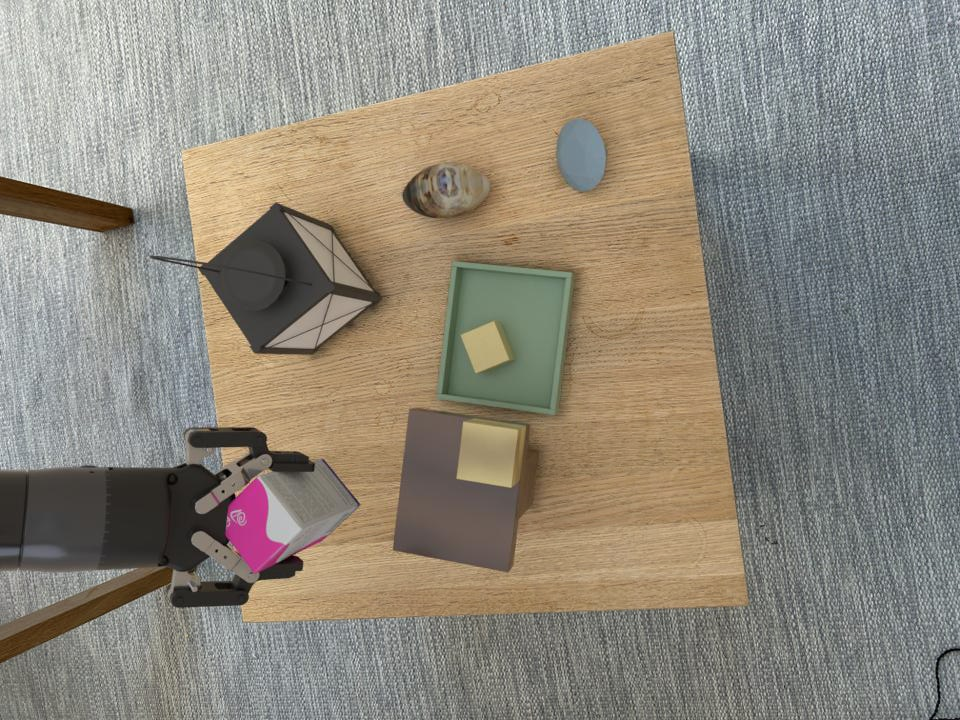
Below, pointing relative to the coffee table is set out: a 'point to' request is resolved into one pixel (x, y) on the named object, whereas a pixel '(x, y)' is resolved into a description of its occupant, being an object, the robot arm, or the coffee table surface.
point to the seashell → (446, 190)
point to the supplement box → (287, 514)
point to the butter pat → (487, 347)
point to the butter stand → (464, 488)
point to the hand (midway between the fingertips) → (306, 513)
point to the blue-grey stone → (581, 154)
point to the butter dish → (508, 335)
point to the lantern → (287, 282)
